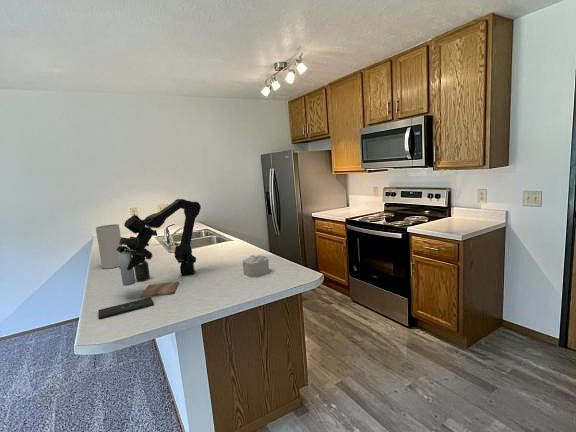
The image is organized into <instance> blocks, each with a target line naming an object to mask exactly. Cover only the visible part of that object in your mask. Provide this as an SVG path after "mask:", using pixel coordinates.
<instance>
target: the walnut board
mask: <svg viewBox="0 0 576 432" xmlns="http://www.w3.org/2000/svg"><path fill="white" fill-rule="evenodd" d="M179 284H180V283H179V281H171V282H165V283H164V282H163V283H155V284H148V285H147V287H146V288H145V290H144V291H143V292H142V294H141V296H140V298H141V299H145V298H149V297H151V298H152V297H154V298H155V297H159V296H160V297H161V296H167V295H169V296H170V295H174V294H175V293H176V290H177V289H178V287H179Z"/></svg>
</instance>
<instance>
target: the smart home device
mask: <svg viewBox="0 0 576 432" xmlns="http://www.w3.org/2000/svg"><path fill="white" fill-rule="evenodd" d="M153 306H155V303H154V300H153V299H152V297H146V298H141V299H138V300H137V299H136V300H134V301H130V302H129V301H128V302H126V303H121V304H117V305H113V306H112V305H111V306H108V307H105V308H100V309H98V312H97V314H98V320H104V319H107V318H111V317H112V318H113V317H115V316H119V315H124V314H127V313H130V312H134V311H138V310H142V309H146V308H150V307H153Z"/></svg>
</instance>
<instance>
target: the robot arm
mask: <svg viewBox="0 0 576 432" xmlns="http://www.w3.org/2000/svg"><path fill="white" fill-rule="evenodd" d="M180 209H182V210H183V213H184V215H185V218H184V223H183V227H182V228H183V230H182V234H181V239H180V244H179V245H176V246H175V247H174V249H175V250H174V253H173V254H174V258H175V259H176V261H177V263H178V264H180V265H179V270H180V275H181V277H184V276H193V275H195V272H196V270H195V263H196V262H197V257H195V256H194V255H193V249H192V247H191V242H192V238H193V231H194V227H195V221H196V218H197V217H198V215H199V214H200V211H201V209H202V206H201V204H200V203H199V202H198V201H192V200H187V199H184V198H176V199H175V200H174V201H173V202H171V203H170V204H169V205H167V206H165V207H164V208H162V209H161V210H160V211H158V212H155V213H151V214H150V215H148V216H146V217H145V218H144V219H141V218H139V216H138V215H137V214H133V215H132V216H131V217H129V218H128V219H126V220H125V222H124V223H123V226H124V227H125V228H126V229H127V230H129V231H130V232H132V233H133V234H134V235H135V234H137V235H136V237H135V236H129V237H122V236H121V239H120V243H119V244H120V245H122V246H119V247H118V248H117V251H118V252H120V253H123V252H131V255H132V259H131V261H130V263H129V265H128V267H127V270H130V269H132V268H134V267H135V266H136V265H138V264H139V263H141V262H142V261H146V260H150V261H151V259H152V258H153V253H152V252H151V251H149V250H148V249H147V248H146V247H149V246H150V244H149V242H150V241H151V239H152V237H153V236H154V237H157V236H158V232H157V230H156V229H159V228H161V227H162V226H163V225H164V223H165V222H166V220H167V219H168V218H169V217H171V216H172V215H174V214H175V213H176V212H177V211H179V210H180ZM144 258H145V259H146V260H145V259H144ZM118 268H119V269H120V267H118Z"/></svg>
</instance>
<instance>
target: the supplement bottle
mask: <svg viewBox="0 0 576 432" xmlns="http://www.w3.org/2000/svg"><path fill="white" fill-rule="evenodd" d="M144 259H145V261H142V262H141V263H139V264H138V265H136V266H135V267H133V268H134V275H135V281H137V282H145V281H148V280H149V279H150V278H151V274H150V273H151V272H150V268H149V262H148V261H146V260H147V259H146V257H145V258H144Z"/></svg>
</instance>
